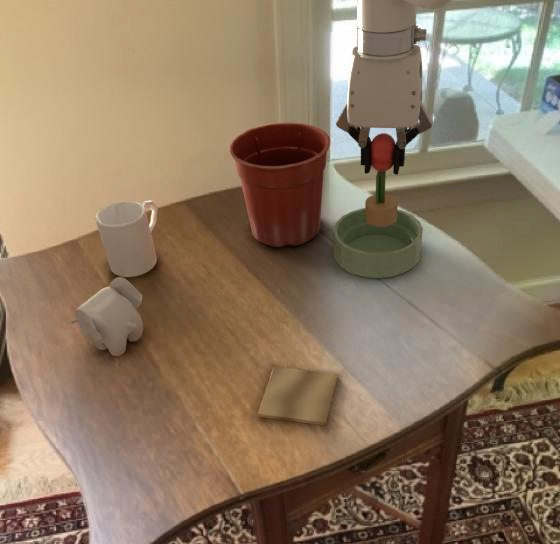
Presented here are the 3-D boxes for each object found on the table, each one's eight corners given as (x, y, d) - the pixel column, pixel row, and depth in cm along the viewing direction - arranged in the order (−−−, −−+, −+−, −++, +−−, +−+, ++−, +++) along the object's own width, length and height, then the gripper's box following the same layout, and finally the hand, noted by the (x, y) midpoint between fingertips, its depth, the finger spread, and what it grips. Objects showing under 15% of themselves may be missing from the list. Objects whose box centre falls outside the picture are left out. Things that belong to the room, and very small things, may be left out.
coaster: (337, 376, 90) (337, 373, 89) (326, 425, 83) (325, 422, 83) (274, 369, 92) (273, 366, 91) (257, 416, 85) (257, 413, 85)
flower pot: (239, 210, 123) (229, 126, 112) (326, 202, 123) (324, 117, 112) (240, 259, 112) (228, 171, 100) (337, 251, 111) (336, 162, 100)
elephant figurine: (106, 310, 104) (91, 263, 98) (164, 332, 99) (152, 285, 93) (62, 345, 98) (43, 298, 92) (122, 371, 93) (106, 323, 87)
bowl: (423, 235, 113) (425, 209, 110) (416, 284, 103) (418, 257, 100) (341, 229, 116) (341, 204, 113) (327, 277, 106) (326, 251, 103)
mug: (181, 247, 116) (171, 196, 109) (134, 282, 109) (120, 231, 102) (148, 235, 119) (136, 185, 112) (100, 269, 112) (84, 218, 106)
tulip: (398, 211, 106) (402, 127, 96) (395, 227, 102) (398, 142, 93) (367, 209, 107) (368, 126, 97) (363, 226, 103) (363, 141, 94)
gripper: (452, 29, 87) (440, 160, 100) (328, 31, 91) (332, 157, 103) (449, 48, 82) (437, 184, 94) (318, 49, 85) (323, 179, 98)
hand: (382, 168), depth 99 cm, fingers closed on tulip, 3 cm apart
